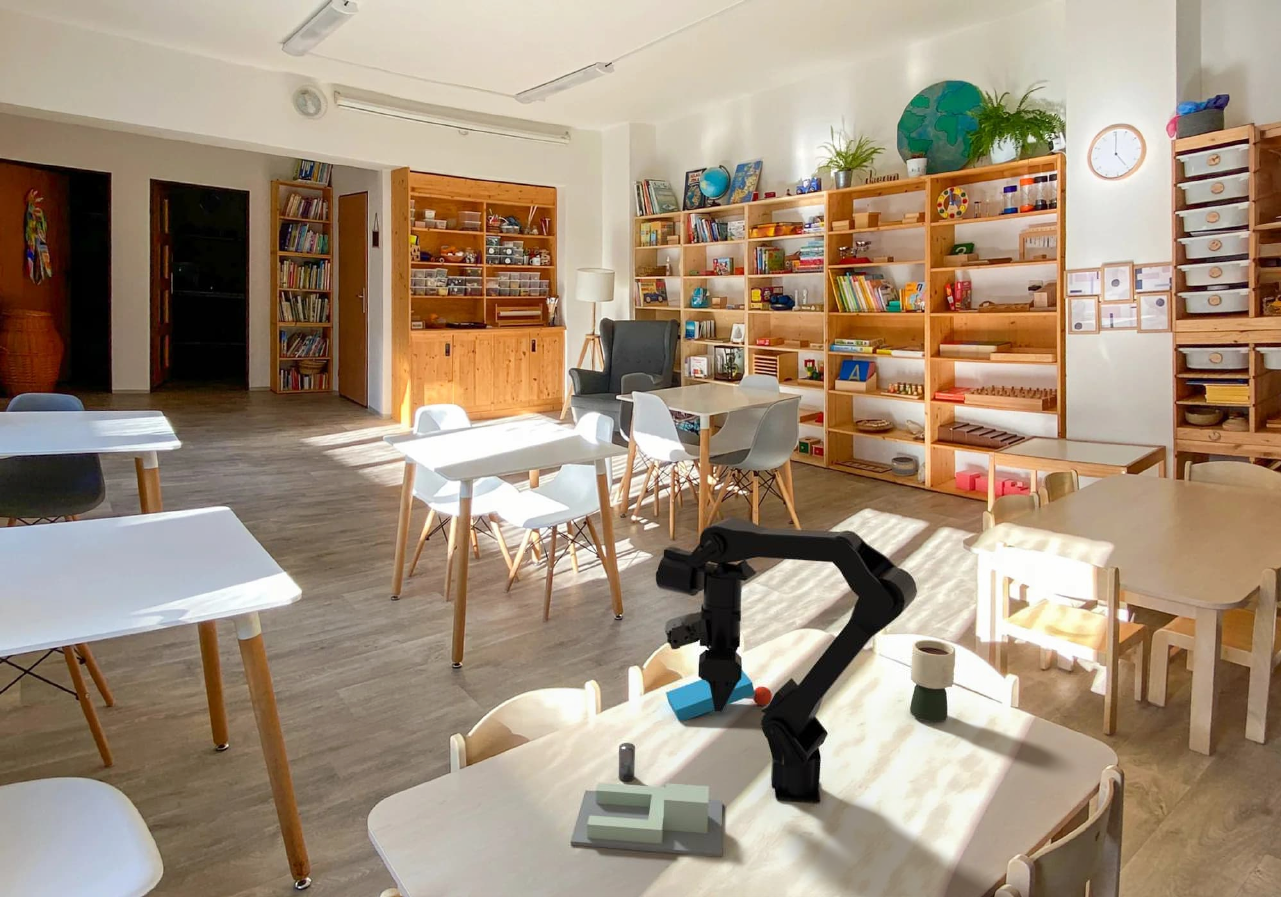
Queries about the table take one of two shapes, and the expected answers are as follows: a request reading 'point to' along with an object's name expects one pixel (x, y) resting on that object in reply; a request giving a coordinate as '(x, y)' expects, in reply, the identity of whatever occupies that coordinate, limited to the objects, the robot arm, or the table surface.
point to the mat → (670, 839)
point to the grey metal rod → (626, 762)
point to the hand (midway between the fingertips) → (718, 697)
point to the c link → (651, 811)
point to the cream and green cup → (931, 678)
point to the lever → (699, 697)
